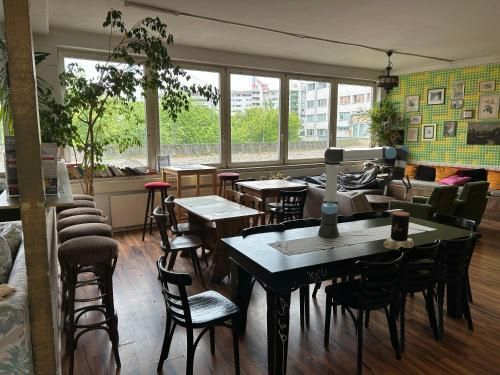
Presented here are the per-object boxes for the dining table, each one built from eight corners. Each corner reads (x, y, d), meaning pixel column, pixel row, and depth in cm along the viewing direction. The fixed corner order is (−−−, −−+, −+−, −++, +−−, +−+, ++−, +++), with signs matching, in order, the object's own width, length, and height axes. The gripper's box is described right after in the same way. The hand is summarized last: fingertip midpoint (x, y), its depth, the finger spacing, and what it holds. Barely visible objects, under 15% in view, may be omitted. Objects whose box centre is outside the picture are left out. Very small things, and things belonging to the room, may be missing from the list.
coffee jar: (387, 237, 248) (388, 211, 246) (399, 236, 252) (401, 210, 250) (398, 242, 239) (400, 215, 236) (411, 240, 242) (413, 214, 240)
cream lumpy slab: (383, 247, 244) (383, 240, 243) (389, 241, 257) (389, 234, 256) (409, 251, 235) (409, 244, 234) (413, 245, 248) (414, 238, 248)
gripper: (419, 170, 259) (413, 200, 258) (383, 166, 273) (377, 194, 272) (417, 168, 253) (412, 198, 252) (381, 164, 267) (375, 192, 265)
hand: (394, 196), depth 262 cm, fingers open, 13 cm apart
